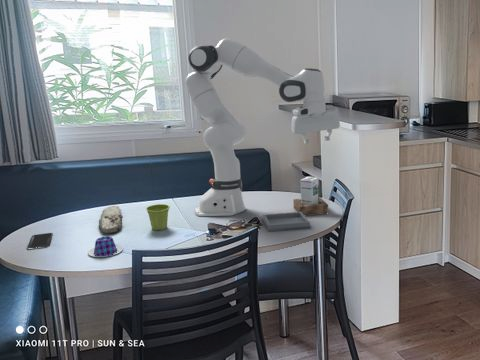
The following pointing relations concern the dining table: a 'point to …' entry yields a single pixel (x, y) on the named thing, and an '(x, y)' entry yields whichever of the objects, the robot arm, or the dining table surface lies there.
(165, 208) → the plant pot
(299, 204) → the socket block
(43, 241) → the phone
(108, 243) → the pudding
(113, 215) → the beige slipper
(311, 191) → the syrup box
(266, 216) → the tray
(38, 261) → the dining table surface
